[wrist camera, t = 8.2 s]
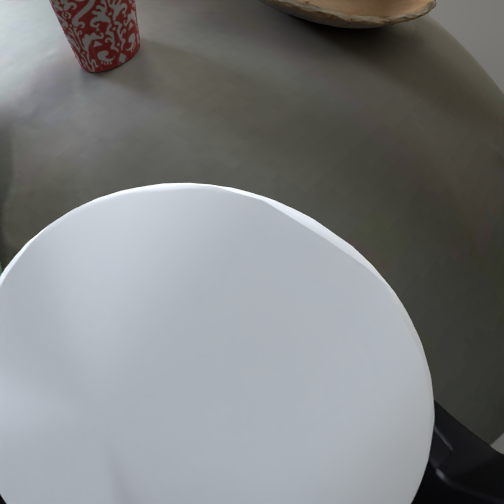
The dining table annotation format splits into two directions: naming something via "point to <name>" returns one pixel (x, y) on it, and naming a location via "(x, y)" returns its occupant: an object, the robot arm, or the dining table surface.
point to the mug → (99, 31)
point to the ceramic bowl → (354, 11)
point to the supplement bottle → (205, 359)
